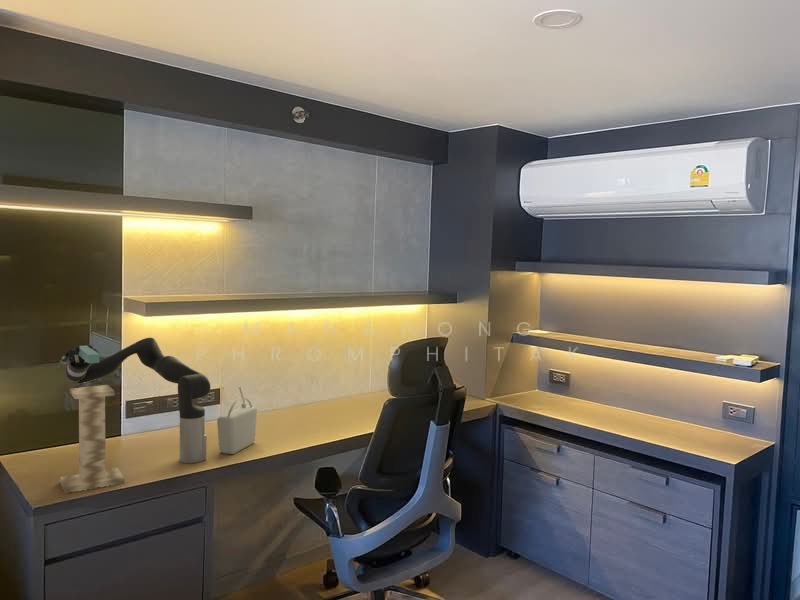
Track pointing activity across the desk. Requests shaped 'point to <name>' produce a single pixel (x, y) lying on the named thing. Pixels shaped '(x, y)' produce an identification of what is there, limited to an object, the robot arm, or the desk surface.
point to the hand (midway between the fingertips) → (84, 347)
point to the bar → (88, 354)
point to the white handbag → (237, 428)
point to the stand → (91, 442)
